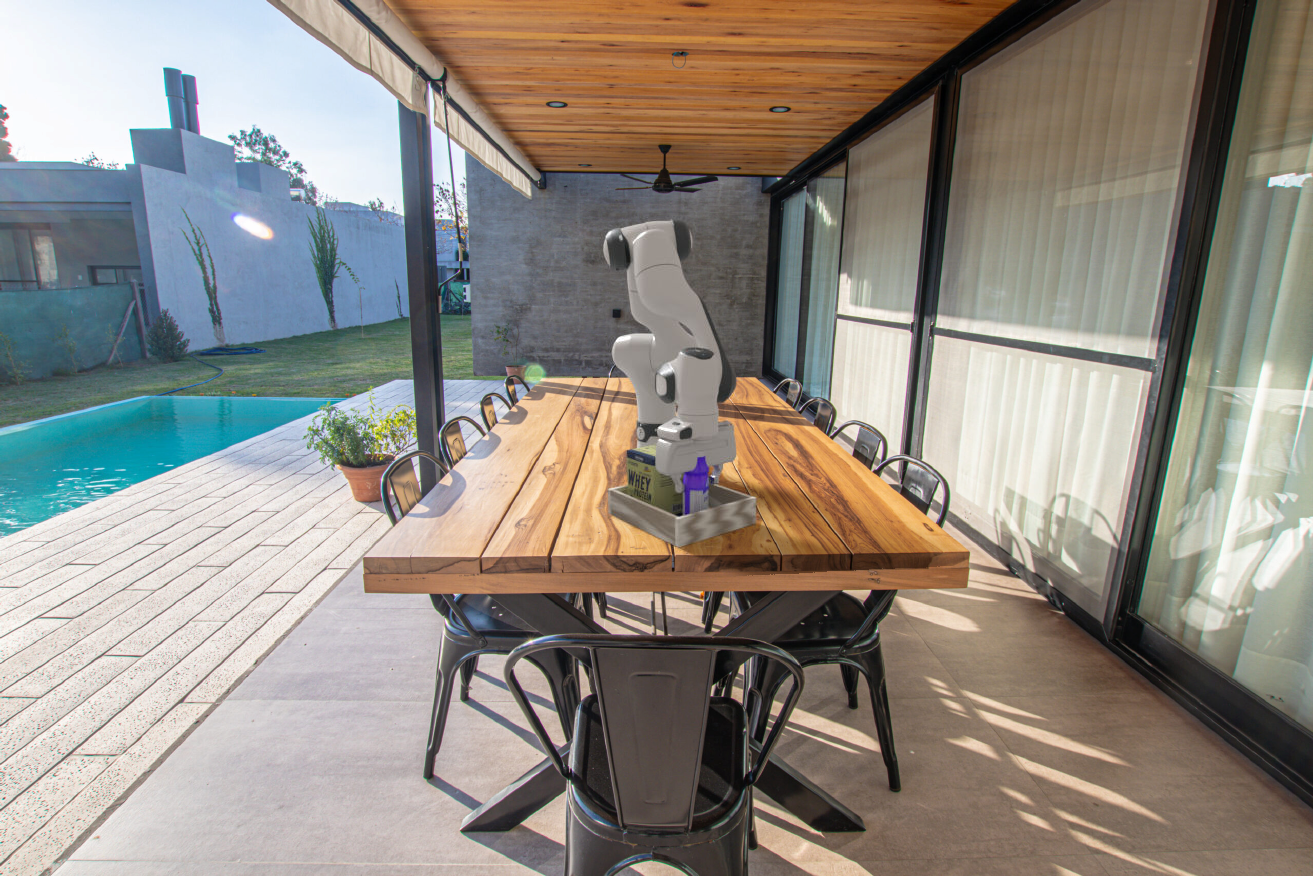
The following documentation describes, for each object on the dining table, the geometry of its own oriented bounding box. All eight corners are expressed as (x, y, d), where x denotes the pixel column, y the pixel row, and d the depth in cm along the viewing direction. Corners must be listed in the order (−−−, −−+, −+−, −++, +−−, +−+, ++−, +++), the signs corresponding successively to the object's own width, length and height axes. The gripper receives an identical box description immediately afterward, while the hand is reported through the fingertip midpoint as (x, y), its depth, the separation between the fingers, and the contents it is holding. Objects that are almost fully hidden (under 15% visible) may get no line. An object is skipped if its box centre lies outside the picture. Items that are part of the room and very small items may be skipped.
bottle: (705, 532, 136) (707, 453, 133) (679, 530, 137) (680, 452, 134) (710, 521, 143) (711, 446, 140) (685, 519, 144) (686, 444, 141)
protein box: (626, 514, 149) (625, 449, 145) (678, 500, 158) (678, 439, 155) (653, 526, 141) (652, 458, 137) (706, 511, 150) (707, 447, 146)
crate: (681, 495, 162) (681, 472, 161) (755, 523, 142) (756, 497, 140) (608, 513, 149) (607, 489, 148) (678, 547, 129) (678, 519, 128)
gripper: (723, 417, 144) (722, 476, 147) (650, 429, 132) (651, 493, 135) (743, 421, 139) (742, 482, 142) (669, 434, 127) (669, 500, 131)
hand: (697, 487), depth 139 cm, fingers open, 8 cm apart
